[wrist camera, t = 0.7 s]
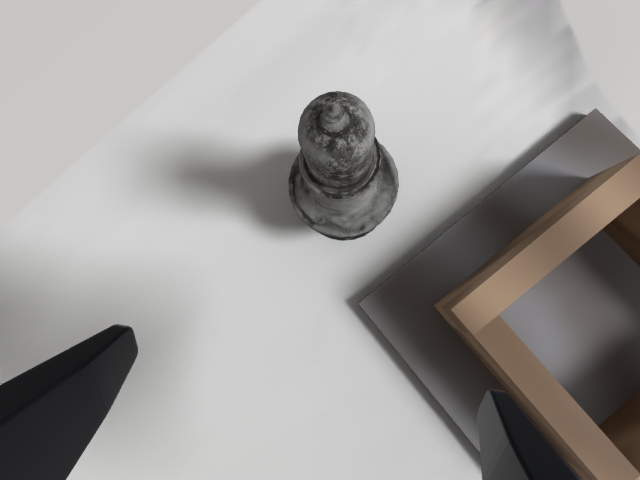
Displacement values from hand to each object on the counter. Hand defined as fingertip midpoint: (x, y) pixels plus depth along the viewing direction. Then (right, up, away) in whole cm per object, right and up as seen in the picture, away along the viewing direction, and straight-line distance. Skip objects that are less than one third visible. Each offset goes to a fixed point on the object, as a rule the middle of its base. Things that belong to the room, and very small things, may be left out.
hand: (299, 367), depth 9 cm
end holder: (+15, -1, +12) cm, 19 cm away
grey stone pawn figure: (+2, +6, +14) cm, 16 cm away
